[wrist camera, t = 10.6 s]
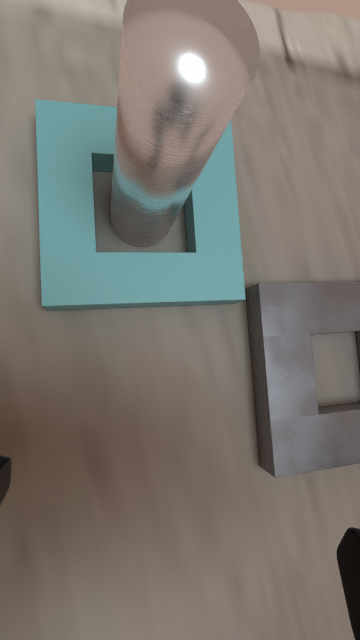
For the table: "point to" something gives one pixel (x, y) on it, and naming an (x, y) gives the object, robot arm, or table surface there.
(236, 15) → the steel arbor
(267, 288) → the socket block
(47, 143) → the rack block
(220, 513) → the table surface
